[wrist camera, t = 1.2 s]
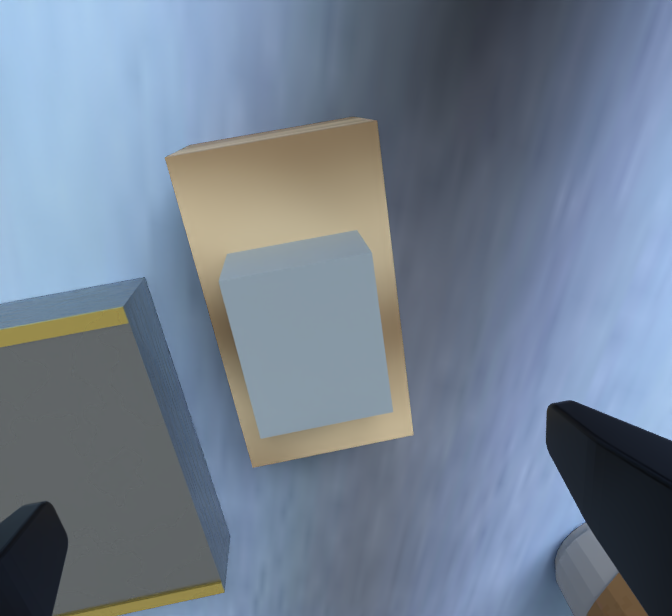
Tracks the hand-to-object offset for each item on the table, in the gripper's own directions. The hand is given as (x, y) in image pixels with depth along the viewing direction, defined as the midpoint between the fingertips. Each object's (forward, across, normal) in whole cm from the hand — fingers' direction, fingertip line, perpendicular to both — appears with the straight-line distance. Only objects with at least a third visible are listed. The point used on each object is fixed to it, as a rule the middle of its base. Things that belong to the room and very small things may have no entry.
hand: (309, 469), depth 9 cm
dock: (+12, +12, +6) cm, 18 cm away
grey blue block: (+8, 0, 0) cm, 8 cm away
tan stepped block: (+12, 0, 0) cm, 12 cm away
